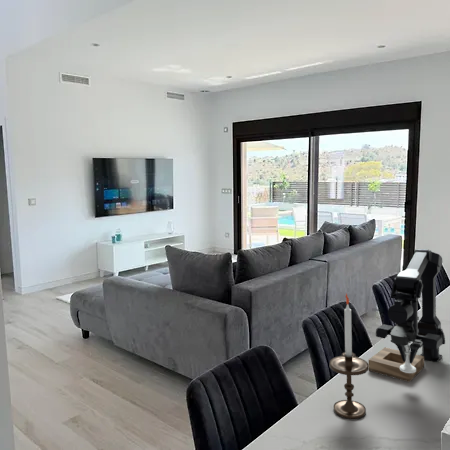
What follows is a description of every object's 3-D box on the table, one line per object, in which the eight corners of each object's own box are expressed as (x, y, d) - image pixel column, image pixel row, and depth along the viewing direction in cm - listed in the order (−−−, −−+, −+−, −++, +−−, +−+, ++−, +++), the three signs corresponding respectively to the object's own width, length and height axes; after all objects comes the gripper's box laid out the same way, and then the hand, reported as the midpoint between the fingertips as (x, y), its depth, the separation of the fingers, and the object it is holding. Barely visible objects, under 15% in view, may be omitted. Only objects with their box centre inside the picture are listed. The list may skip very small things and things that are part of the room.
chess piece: (417, 373, 132) (417, 342, 131) (401, 372, 133) (401, 342, 132) (414, 366, 137) (414, 336, 136) (398, 366, 138) (397, 336, 137)
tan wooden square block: (384, 357, 159) (384, 347, 158) (424, 367, 149) (424, 356, 149) (368, 370, 149) (368, 359, 148) (409, 382, 139) (409, 370, 139)
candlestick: (327, 401, 129) (324, 289, 126) (362, 400, 129) (361, 288, 125) (335, 421, 118) (332, 299, 115) (374, 420, 118) (372, 298, 114)
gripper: (368, 315, 133) (368, 363, 135) (430, 327, 121) (430, 379, 122) (382, 307, 141) (383, 352, 143) (442, 317, 129) (442, 366, 130)
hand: (407, 362), depth 134 cm, fingers closed on chess piece
